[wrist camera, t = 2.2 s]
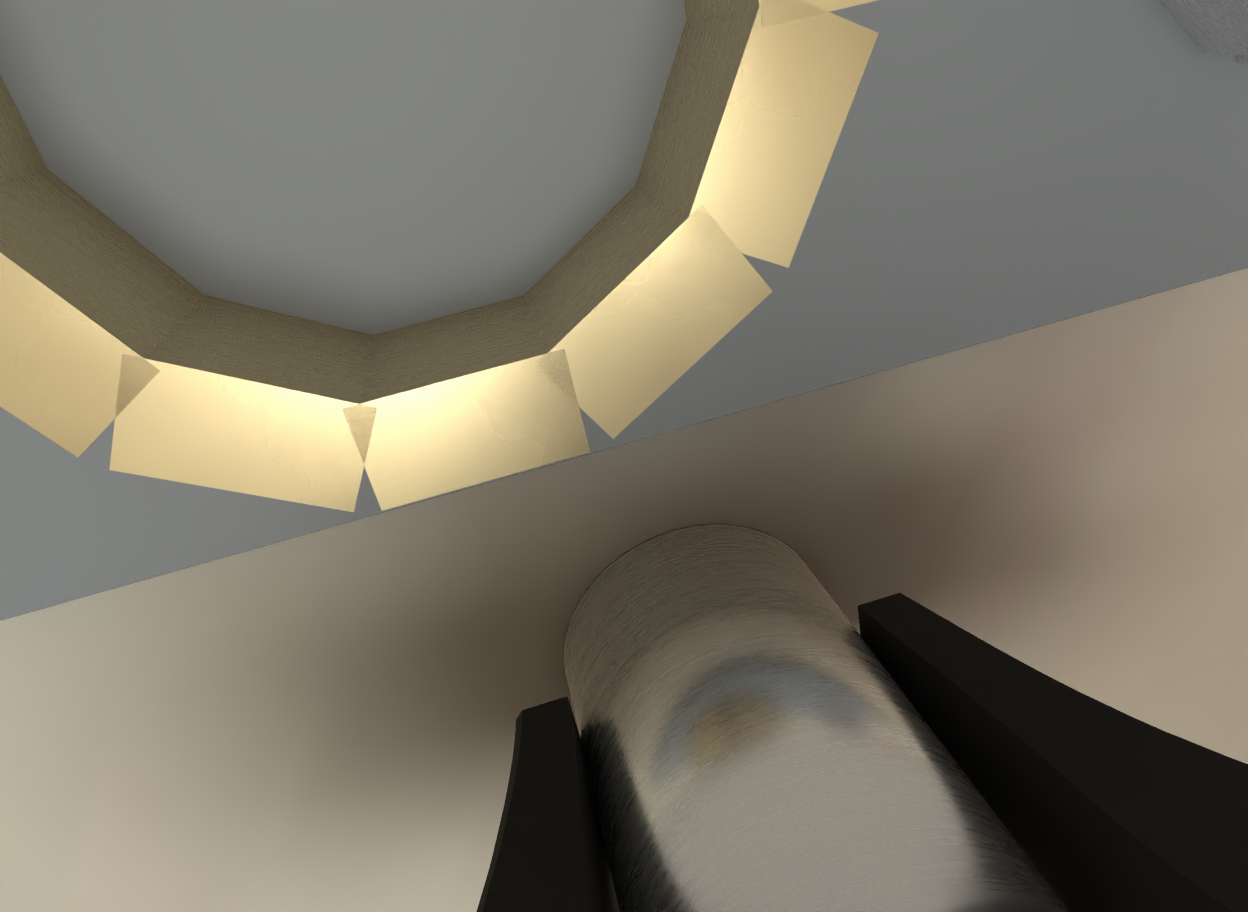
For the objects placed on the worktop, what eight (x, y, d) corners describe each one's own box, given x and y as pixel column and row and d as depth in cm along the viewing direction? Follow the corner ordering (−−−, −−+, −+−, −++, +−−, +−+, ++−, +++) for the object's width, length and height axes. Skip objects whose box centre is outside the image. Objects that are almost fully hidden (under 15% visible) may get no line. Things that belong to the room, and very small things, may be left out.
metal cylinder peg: (808, 490, 12) (1116, 835, 7) (833, 700, 14) (1092, 1105, 8) (533, 571, 12) (625, 1008, 6) (596, 776, 13) (710, 1252, 8)
